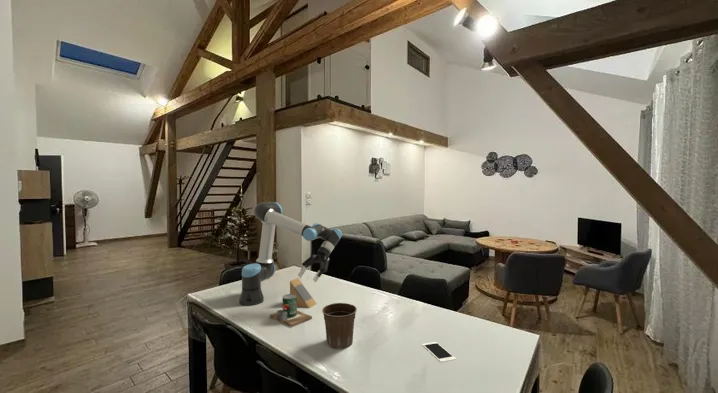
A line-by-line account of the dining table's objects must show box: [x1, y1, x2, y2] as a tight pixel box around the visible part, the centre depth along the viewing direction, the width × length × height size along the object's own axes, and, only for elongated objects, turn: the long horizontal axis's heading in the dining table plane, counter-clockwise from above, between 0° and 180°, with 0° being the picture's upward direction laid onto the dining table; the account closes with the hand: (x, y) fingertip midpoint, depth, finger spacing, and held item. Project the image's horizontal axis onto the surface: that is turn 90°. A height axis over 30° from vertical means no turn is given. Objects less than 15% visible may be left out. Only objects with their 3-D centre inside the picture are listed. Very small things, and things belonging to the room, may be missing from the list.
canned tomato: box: [282, 293, 298, 318], centre depth 175 cm, size 8×8×11 cm
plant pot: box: [321, 302, 357, 349], centre depth 146 cm, size 16×16×16 cm
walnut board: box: [269, 309, 313, 328], centre depth 175 cm, size 20×14×6 cm
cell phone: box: [421, 341, 457, 363], centre depth 139 cm, size 8×16×1 cm, turn 18°
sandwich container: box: [289, 277, 317, 309], centre depth 198 cm, size 9×15×15 cm, turn 64°
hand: (306, 278), depth 183 cm, fingers open, 13 cm apart
